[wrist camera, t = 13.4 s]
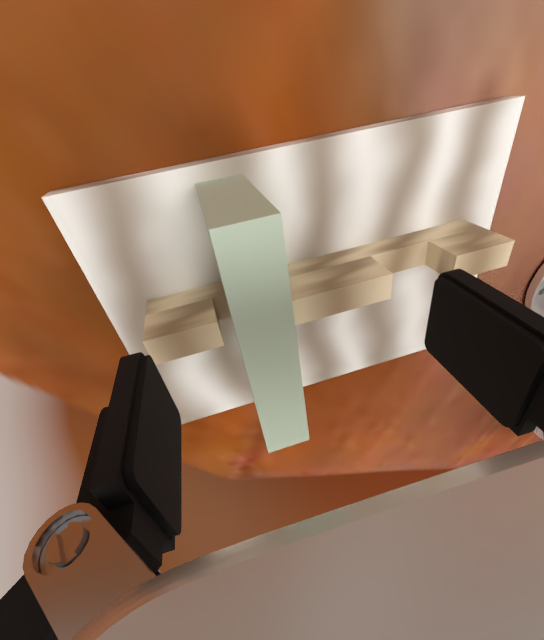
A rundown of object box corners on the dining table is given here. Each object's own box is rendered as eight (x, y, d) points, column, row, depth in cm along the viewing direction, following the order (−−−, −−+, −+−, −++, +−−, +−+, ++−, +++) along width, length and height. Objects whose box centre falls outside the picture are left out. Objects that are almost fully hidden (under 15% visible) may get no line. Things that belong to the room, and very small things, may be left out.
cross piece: (194, 183, 20) (208, 229, 13) (241, 173, 20) (280, 213, 13) (244, 366, 29) (268, 452, 22) (275, 357, 30) (309, 439, 22)
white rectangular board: (507, 96, 23) (603, 94, 18) (451, 330, 36) (498, 368, 31) (49, 191, 19) (4, 224, 14) (170, 415, 32) (170, 475, 27)
